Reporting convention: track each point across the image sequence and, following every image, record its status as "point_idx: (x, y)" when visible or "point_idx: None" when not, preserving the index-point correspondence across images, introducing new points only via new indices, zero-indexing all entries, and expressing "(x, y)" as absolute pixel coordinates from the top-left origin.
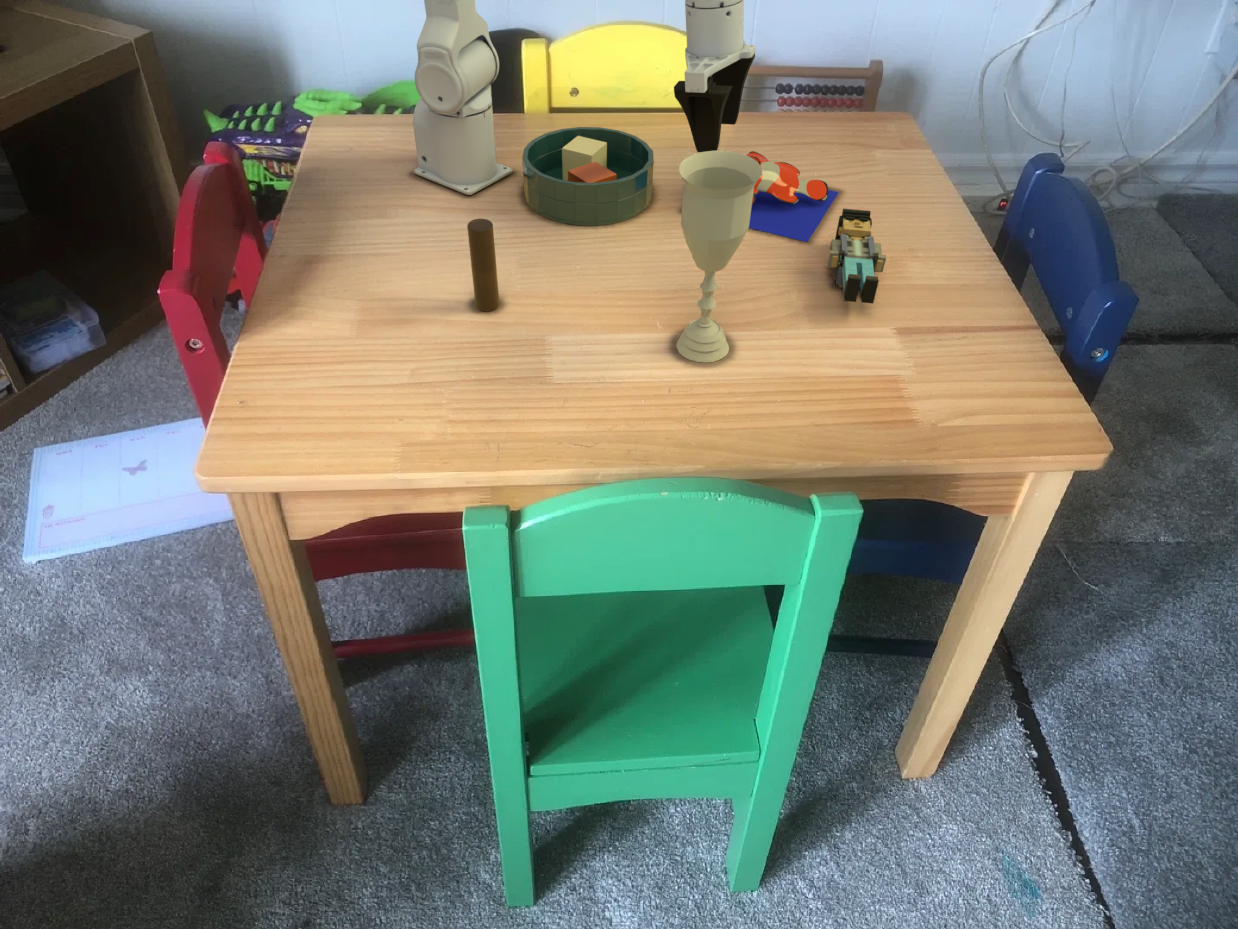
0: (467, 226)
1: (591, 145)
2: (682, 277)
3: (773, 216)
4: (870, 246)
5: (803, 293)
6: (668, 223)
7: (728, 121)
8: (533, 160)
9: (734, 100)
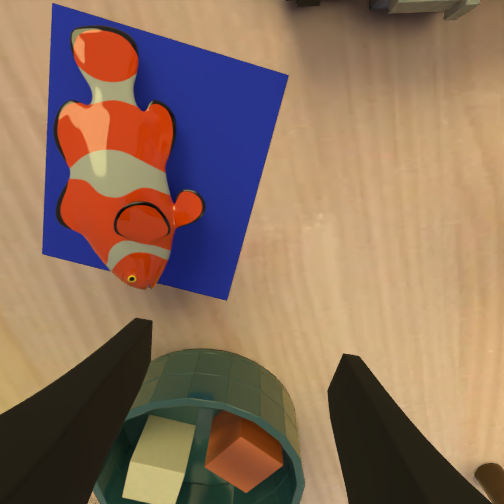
0: None
1: (150, 478)
2: (424, 282)
3: (203, 150)
4: None
5: (476, 77)
6: (266, 317)
7: (150, 341)
8: None
9: (117, 380)
